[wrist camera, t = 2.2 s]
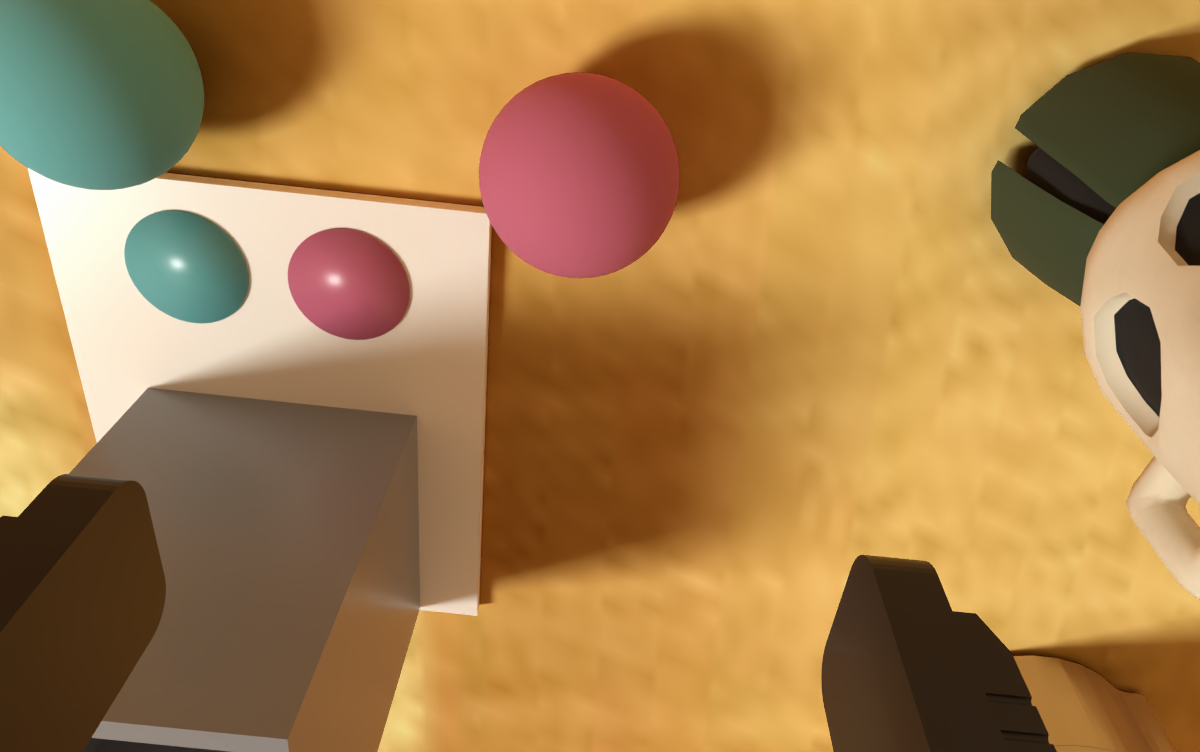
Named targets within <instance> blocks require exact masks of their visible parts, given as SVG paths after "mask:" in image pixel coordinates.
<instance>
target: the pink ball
mask: <svg viewBox="0 0 1200 752" xmlns="http://www.w3.org/2000/svg"><path fill="white" fill-rule="evenodd" d="M679 179H680V171H679V160H678V155H677V150H676V147H675V144H674V141H673V138H672V135H671V133H670V131H669V129H668V127H667V125H666V123H665V121H664V120H663V118H662V117H661V115H660V114H659V112H658V111H657V110H656V109H655V108H654V107H653V105H652V104H651V103H650V102H649V101H648V100H647V99H645V98H644V97H643V96H642V95H641V94H640V93H638V92H637V91H635V90H634V89H632V88H631V87H629V86H628V85H626V84H624V83H622V82H620V81H618V80H615V79H613V78H609V77H606V76H603V75H598V74H593V73H579V72H576V73H565V74H560V75H555V76H551V77H548V78H545V79H543V80H540V81H537V82H535V83H534V84H532V85H530V86H528V87H526V88H525V89H523V90H522V91H521V92H519V93H518V94H517V95H515V96H514V97H513V98H512V99H511V100H510V101H509V102H508V103H507V104H506V105H505V106H504V108H503V109H502V110H501V111H500V113H499V114H498V115H497V117H496V118H495V120H494V122H493V123H492V125H491V127H490V129H489V131H488V133H487V136H486V139H485V141H484V144H483V148H482V153H481V157H480V165H479V185H480V192H481V198H482V202H483V205H484V208H485V212H486V214H487V216H488V218H489V220H490V223H491V225H492V226H493V228H494V229H495V231H496V233H497V234H498V236H499V237H500V239H501V240H502V241H503V242H504V243H505V245H506V246H507V247H508V248H509V249H510V250H511V251H512V252H513V253H514V254H515V255H517V256H518V257H519V258H521V259H522V260H523V261H525V262H526V263H528V264H530V265H532V266H533V267H535V268H537V269H540V270H542V271H544V272H547V273H550V274H554V275H557V276H562V277H568V278H592V277H598V276H603V275H607V274H610V273H613V272H616V271H618V270H620V269H622V268H624V267H626V266H628V265H630V264H631V263H633V262H634V261H636V260H637V259H639V258H640V257H641V256H642V255H644V254H645V253H646V252H647V251H648V250H649V249H650V248H651V247H652V246H653V245H654V244H655V243H656V242H657V240H658V239H659V237H660V236H661V235H662V233H663V232H664V230H665V228H666V226H667V224H668V222H669V221H670V219H671V217H672V214H673V211H674V208H675V206H676V201H677V197H678V191H679Z"/></svg>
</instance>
